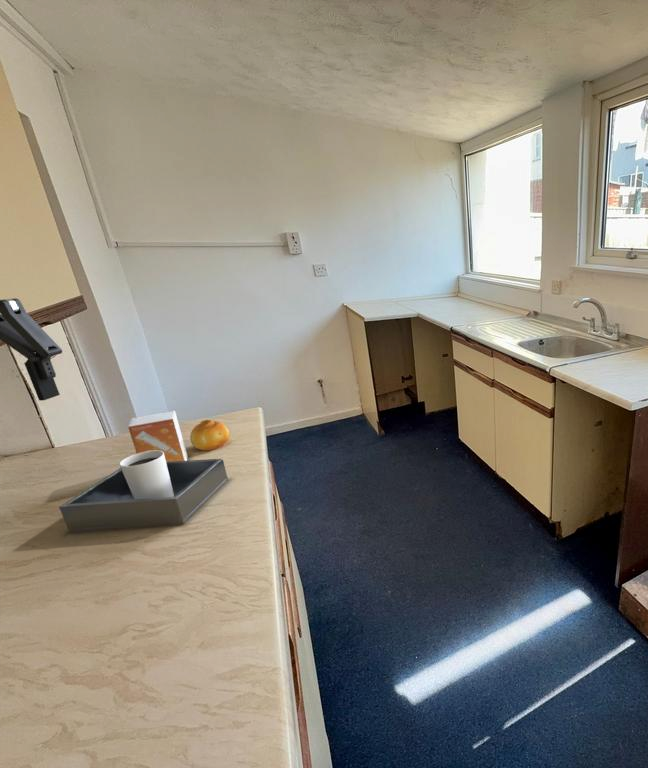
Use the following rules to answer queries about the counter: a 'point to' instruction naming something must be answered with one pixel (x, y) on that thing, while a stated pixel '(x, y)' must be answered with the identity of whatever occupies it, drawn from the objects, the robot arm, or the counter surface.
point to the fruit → (209, 435)
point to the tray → (120, 511)
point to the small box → (158, 435)
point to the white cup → (147, 475)
